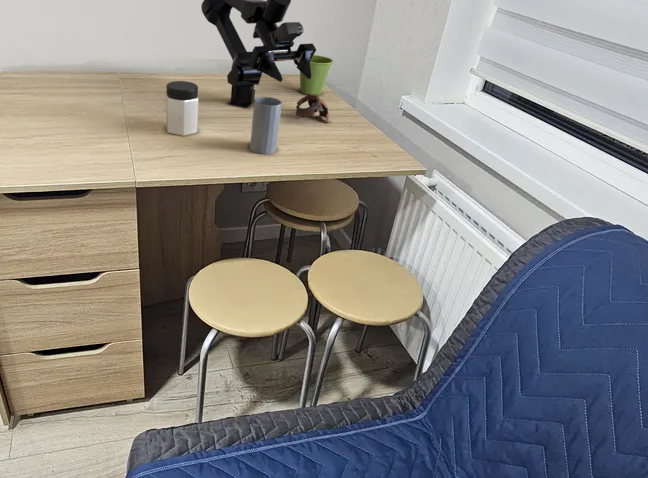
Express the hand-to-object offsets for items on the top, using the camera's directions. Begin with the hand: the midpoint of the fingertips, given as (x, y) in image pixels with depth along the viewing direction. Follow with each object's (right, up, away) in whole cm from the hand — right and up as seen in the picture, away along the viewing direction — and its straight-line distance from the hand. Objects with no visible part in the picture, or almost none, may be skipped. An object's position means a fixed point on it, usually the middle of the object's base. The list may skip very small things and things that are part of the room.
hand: (296, 79), depth 135 cm
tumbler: (-9, -19, -2) cm, 21 cm away
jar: (-30, -12, +5) cm, 33 cm away
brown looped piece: (+7, -6, +21) cm, 22 cm away
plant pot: (+10, +8, +43) cm, 45 cm away
